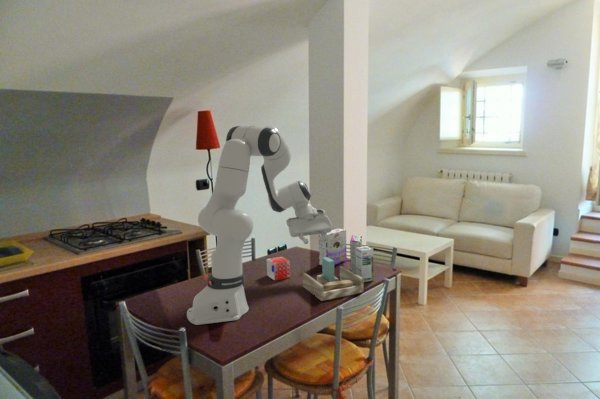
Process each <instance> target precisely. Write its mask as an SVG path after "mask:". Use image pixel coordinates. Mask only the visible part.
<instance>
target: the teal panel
mask: <svg viewBox="0 0 600 399" xmlns="http://www.w3.org/2000/svg"><path fill="white" fill-rule="evenodd" d="M321 268H322V273H321V275H323V278H324V279H326V280H327V281H328V282H333V281H334V276H335V265H334V260H332V259H330V258H328V257H325V258H322V266H321Z"/></svg>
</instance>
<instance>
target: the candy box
mask: <svg viewBox="0 0 600 399" xmlns="http://www.w3.org/2000/svg"><path fill="white" fill-rule="evenodd" d="M323 236H324V235H323V234H322V233H321V234H318V262H319V263H318V264H319V265H320V266H321V267H322V258H325V257H328V258H330V259H332V260H334V266H336V265H339V264H342V263H345V262H347V261H348V260H347V230H346V229H343V228H340V227H339V228H335V229H333V228H332V230H331V232H329V233H327V241H323V239H322V238H323Z"/></svg>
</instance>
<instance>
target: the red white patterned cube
mask: <svg viewBox="0 0 600 399" xmlns="http://www.w3.org/2000/svg"><path fill="white" fill-rule="evenodd" d="M266 274H267V276H268V277H269V278H270V279H272V280H273V281H278V280H279V281H280V280H285V279H288V278H291V261H290V260H289V259H288V258H286V257H284V256H277V257H271V258H266Z"/></svg>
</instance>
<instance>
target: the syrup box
mask: <svg viewBox="0 0 600 399" xmlns="http://www.w3.org/2000/svg"><path fill="white" fill-rule="evenodd" d="M356 274H357V275H359V276H361V277H362V278H363V283H365V282H366V283H367V282H372V281H374V248H373V247H370V246H368V245H365V246H362V247H356Z"/></svg>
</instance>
